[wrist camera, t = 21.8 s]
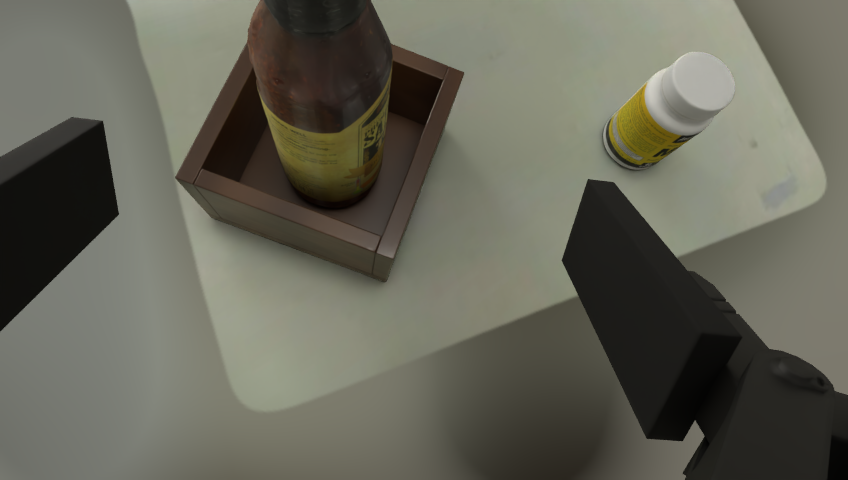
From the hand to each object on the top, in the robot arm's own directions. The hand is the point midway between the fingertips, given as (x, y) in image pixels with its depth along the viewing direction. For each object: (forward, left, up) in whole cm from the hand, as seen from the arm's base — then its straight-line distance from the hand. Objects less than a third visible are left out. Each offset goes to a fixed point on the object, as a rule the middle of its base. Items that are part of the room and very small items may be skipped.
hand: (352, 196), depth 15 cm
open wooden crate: (+4, -8, -20) cm, 21 cm away
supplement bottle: (-15, -18, -20) cm, 31 cm away
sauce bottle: (+4, -8, -19) cm, 21 cm away
